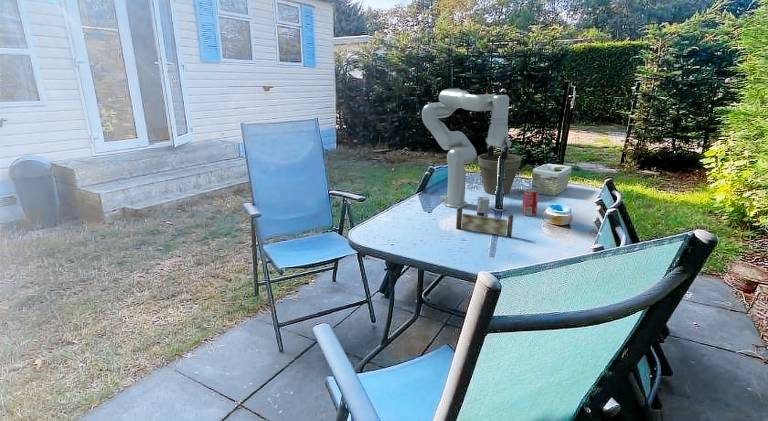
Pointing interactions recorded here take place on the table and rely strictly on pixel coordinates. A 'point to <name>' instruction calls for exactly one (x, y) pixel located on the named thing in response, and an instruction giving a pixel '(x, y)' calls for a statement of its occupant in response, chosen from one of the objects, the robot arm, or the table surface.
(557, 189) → the storage basket
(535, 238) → the table surface
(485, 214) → the energy drink
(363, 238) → the table surface
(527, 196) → the soda can
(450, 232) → the table surface
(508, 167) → the plant pot
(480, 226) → the gate
